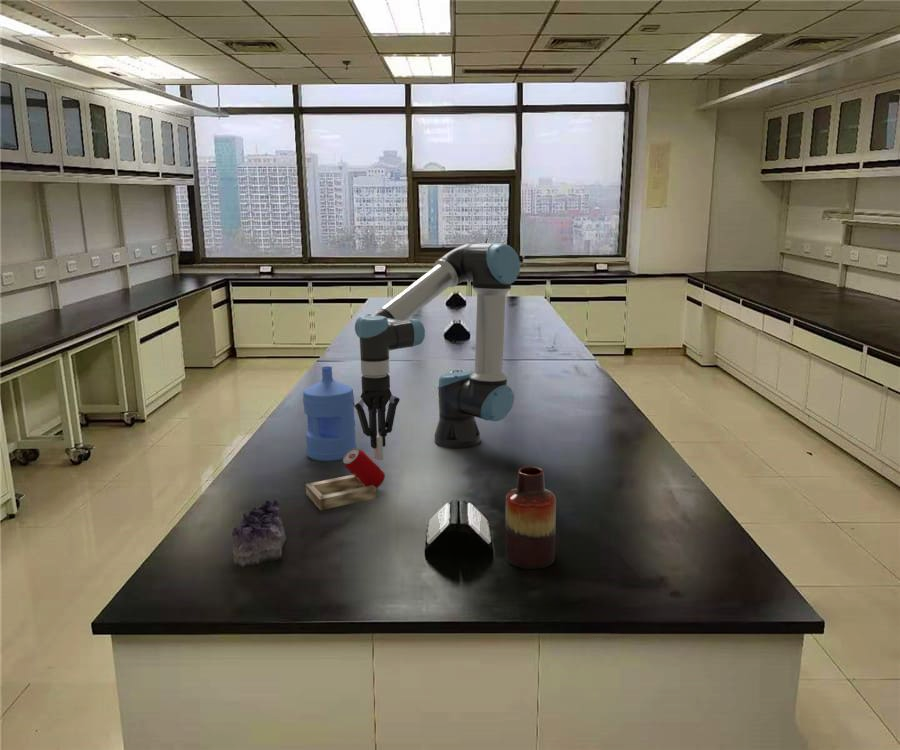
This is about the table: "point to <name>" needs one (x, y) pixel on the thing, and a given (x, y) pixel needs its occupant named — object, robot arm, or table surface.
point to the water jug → (329, 418)
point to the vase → (530, 521)
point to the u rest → (339, 492)
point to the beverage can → (363, 468)
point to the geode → (259, 536)
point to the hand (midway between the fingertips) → (378, 458)
